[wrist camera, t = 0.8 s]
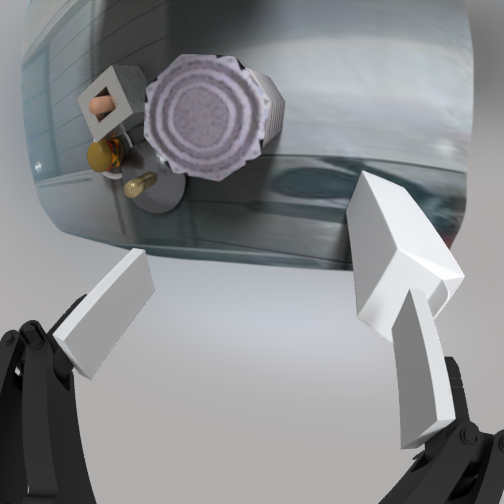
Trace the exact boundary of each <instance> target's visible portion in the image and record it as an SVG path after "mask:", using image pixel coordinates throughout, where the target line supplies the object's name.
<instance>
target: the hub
mask: <svg viewBox="0 0 504 504" xmlns="http://www.w3.org/2000/svg"><path fill="white" fill-rule="evenodd" d="M121 175H122V182H123V185H124V193H125V195H126V196H127V197H129V198H130V199H131V200H132V201H133V202H134V203H135V204H136V205H137V206H138V207H140V208H141V209H143V210H145V211H147V212H150V213H156V214H157V213H165V212H168V211H169V210H171V209H173V208H174V207H175V206H176V205H178V204H179V203H180V201H181V200H182V199H183V197H184V195H185V192H186V189H187V175H184V174H178V173H173V172H172V171H171V169H170V168H169V167H168V166H167V164H166V163H165V162H164V161H163V159H162V158H161V157H160V156H159V154H158V153H157V152H156V151H155V149H154V148H153V147H152V146H151V144H150V143H149V142H148V141H147V140H146V141H143V142H140V143H138V144H136V145H134V146H133V147H132V148H131V149H130V150H129V151H128V152H127V154H126V155H125V157H124V160H123V163H122V170H121Z"/></svg>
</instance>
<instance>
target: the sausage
mask: <svg viewBox="0 0 504 504" xmlns="http://www.w3.org/2000/svg"><path fill="white" fill-rule="evenodd" d="M115 109H116V107H115V105H114V102H113V100H112V98H111V96H110V95H109V96H101V97H95V98H92V99H91V101H90V103H89V110H90V112H91V113H92V114H99V113H104V112H109V111H114V110H115Z"/></svg>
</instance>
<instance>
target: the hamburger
mask: <svg viewBox="0 0 504 504" xmlns="http://www.w3.org/2000/svg"><path fill="white" fill-rule="evenodd" d="M123 135H124V136H125V137H126V138H127V140H128V142H129V146H130V149H131V148H132V147H133V145H132V142H131V140H130V138H129V136H128V134H127V133H126V132H125V133H124V134H123ZM123 157H124V148H123V145H122V143H121V141H120V140H119V139H117V138H116V137H113V138H110V139H107V140H104V141H101V142H98V143H96V142H95V140H94V141H93V143H92V144H91V145H90V147H89V149H88V152H87V159H88V163H89V165H90V167H91V168H92V169H93V170H94V171H96V172H101V173H102V174H103V175H105V176H106V177H108V178H110V179H120V178H122V175H121V173H118V174H114V173H111V172H109V170H111V169H113V168H116V167H117V166H120V163H121V161H122V160H123Z"/></svg>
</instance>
